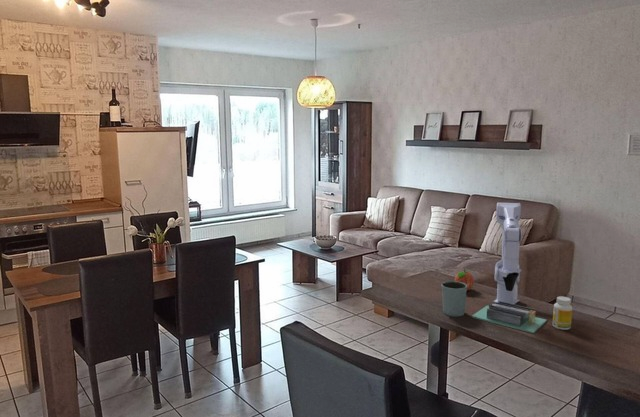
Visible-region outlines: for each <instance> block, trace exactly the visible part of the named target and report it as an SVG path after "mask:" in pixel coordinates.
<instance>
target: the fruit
mask: <svg viewBox="0 0 640 417" xmlns="http://www.w3.org/2000/svg"><path fill="white" fill-rule="evenodd" d="M472 273H473V272H472V271H469V270H468V271H467V270H466V269H463V271H459V272H458V273H457V274H456V275H455V277H454V281H457V282H462V283H465V284H466V285H467V291H470V290H471V289H472V288H473V286H474V283H475V280H474V277H473V275H472Z"/></svg>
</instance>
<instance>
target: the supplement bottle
mask: <svg viewBox="0 0 640 417" xmlns="http://www.w3.org/2000/svg"><path fill="white" fill-rule="evenodd" d="M571 302H572V299H571V298H570V297H568V296H562V295H559V296H557V297H556V302H555V303H554V304H553V311H552V312H553V314H552V322H551V324H552V326H553V327H554V328H555V329H558V330H563V331H566V330H568V331H569V330H570V329H571V328H572V318H573V306H572V305H571Z"/></svg>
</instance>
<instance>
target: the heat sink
mask: <svg viewBox="0 0 640 417" xmlns="http://www.w3.org/2000/svg"><path fill="white" fill-rule="evenodd" d="M492 304H499V305H503V306H508V307H512V308H517V309H521V310H526V311H529V312H528V314H529V315H524V314H520V313H515V312H511V311H507V310H502V309H498V308H493V305H492ZM492 304H491V303H489V304H488V306H489V309H487V318H488V319H492V320H496V321H499V322H503V323H507V324H511V325H515V326H519V327H520V326H521V325H523V324H524V323H525V322H526V321H527V320H528V319H529V325H533V324H534V323H535V317H536V314H537V313H536V310H532V308H531V307H526V306H522V305H518V304H510V303H505V302H501V301H498V302H492Z"/></svg>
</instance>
